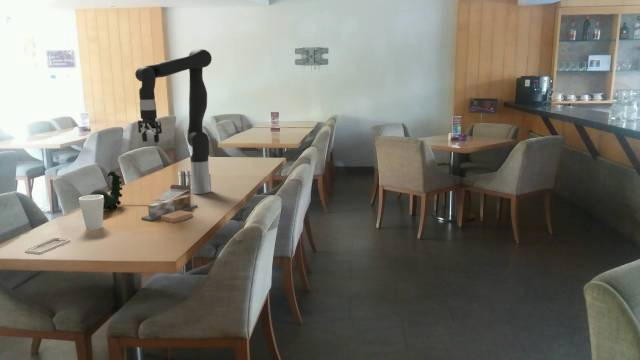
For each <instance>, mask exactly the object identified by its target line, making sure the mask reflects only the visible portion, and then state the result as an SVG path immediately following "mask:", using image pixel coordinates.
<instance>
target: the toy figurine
mask: <svg viewBox="0 0 640 360" xmlns="http://www.w3.org/2000/svg"><path fill="white" fill-rule="evenodd" d="M110 176H111V187H110V190H111V191H110V193H108V192H106V191H105V190H102V189H96V190H94V191H92V192H91V193H89V195H103V196H104V204H103V210H108V211H113V209H115V210H117V209H118V207H119V206H120V205H121V204H122V202H121V200H120V199H119V198H122V197H123V193H121V192H120V191H122V190H123V187H122V186H120V185H122V183H123V181H121V180H120V179H121V178H122V176H121V175H119V174H117V173H116V171H113V170H110V171H108V173H107V177H108V178H109V177H110Z"/></svg>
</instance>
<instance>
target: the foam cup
mask: <svg viewBox="0 0 640 360" xmlns="http://www.w3.org/2000/svg"><path fill="white" fill-rule="evenodd" d="M78 201H79V204H78V205H80V210H81V213H82V217H83V221H84V225H85V228H86V230H90V231H91V230H92V231H93V230H98V229H102V228H103V226H104V225H103V224H104V209H103V204H104V196H103V195H90V194H89V195H88V194H87V195H84V196H83V195H82V196H80V197H79V198H78Z"/></svg>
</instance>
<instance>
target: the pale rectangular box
mask: <svg viewBox="0 0 640 360" xmlns="http://www.w3.org/2000/svg"><path fill="white" fill-rule="evenodd" d="M191 204H192V203H191V196H190V195H186V194H185V195H182V196H177V197H174V198H170V199H166V200H164V201H163V200H162V201H159V202H155V203H151V204H148V205H147V207H148V208H147V209H148V215H149V216H151V217H156V216H159V215H163V214H166V213H169V212H173V211H176V210H180V209H183V208H186V207H190V206H191Z"/></svg>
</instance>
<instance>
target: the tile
mask: <svg viewBox="0 0 640 360" xmlns="http://www.w3.org/2000/svg"><path fill="white" fill-rule="evenodd" d="M189 217H191V218H193V217H194V214H193V212H191V211H188V210H187V211H181V210H179V211H176V212H172V213H169V214H166V215H162V216H161V218H160V220H161V221H163V220H164V221H163V222H167V221H169V222H168V223H172V222H175V223H177V222H176V221H178V222H181V221H184V220H187V219H190V218H189ZM186 218H187V219H186ZM183 219H184V220H183ZM180 220H181V221H180Z"/></svg>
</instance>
